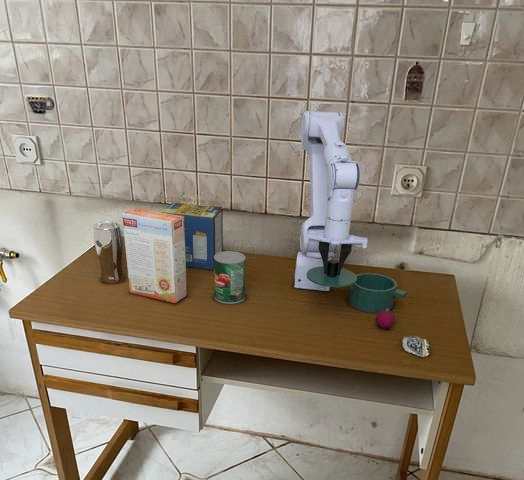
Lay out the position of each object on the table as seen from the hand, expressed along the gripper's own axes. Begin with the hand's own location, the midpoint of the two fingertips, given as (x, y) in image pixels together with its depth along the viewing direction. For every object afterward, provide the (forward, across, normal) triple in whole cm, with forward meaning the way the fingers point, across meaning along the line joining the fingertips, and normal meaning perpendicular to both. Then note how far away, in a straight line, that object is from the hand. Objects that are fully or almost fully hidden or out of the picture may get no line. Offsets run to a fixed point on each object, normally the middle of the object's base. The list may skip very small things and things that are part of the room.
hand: (331, 273), depth 125 cm
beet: (+7, +14, -7) cm, 17 cm away
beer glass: (+10, -58, +4) cm, 59 cm away
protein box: (+10, -41, +22) cm, 48 cm away
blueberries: (+10, +21, -15) cm, 27 cm away
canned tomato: (+10, -25, 0) cm, 27 cm away
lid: (+1, 0, 0) cm, 1 cm away
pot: (+10, +11, +6) cm, 16 cm away
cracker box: (+10, -43, -3) cm, 44 cm away
